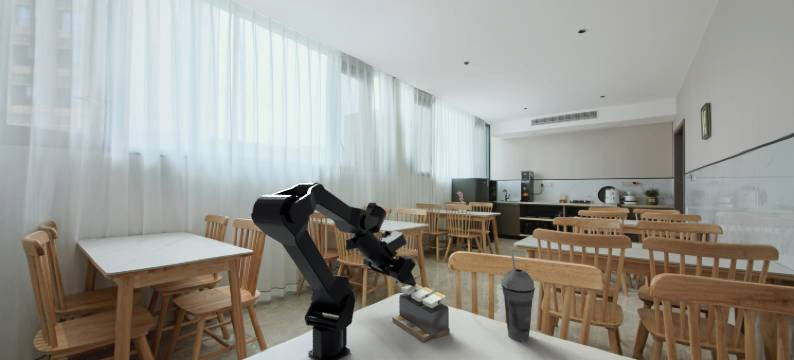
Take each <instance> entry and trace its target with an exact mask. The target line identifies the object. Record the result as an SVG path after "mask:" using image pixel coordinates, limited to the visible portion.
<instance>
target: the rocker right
mask: <svg viewBox="0 0 794 360" xmlns="http://www.w3.org/2000/svg"><path fill="white" fill-rule="evenodd" d="M422 301H423V304H424V305H426V306H428V307H430V308H433V307H435V306H437V305H439V304H440V303H442V304H443V302H446V301H447V295H444V294H442V293H440V292H438V291H437V292H434V294H433V295H431V296H429V297H427V298H425V299H423V300H422Z"/></svg>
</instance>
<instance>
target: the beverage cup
mask: <svg viewBox="0 0 794 360" xmlns="http://www.w3.org/2000/svg"><path fill="white" fill-rule="evenodd" d="M510 252H511V259H512V269H511V270H509V271H507V272H505V274H504V276H503V278H502V284H501V288H502V294H503V298H504V299H503V300H504V309H505V319H506V328H507V334H508V337H509V338H510V339H511V340H514V341H516V342H527V341H529V339H530V337H529V336H530V332H531V320H532V310H533V299H534V295H535V291H536V290H535V285H534V281H533V278H532V276H531V275H530V274H529V273H528V272H526V271H525V270H522V269H519V268H516V260H515V254H514V250H510Z"/></svg>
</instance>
